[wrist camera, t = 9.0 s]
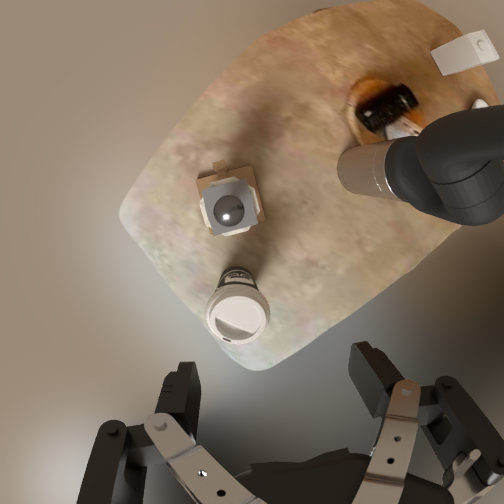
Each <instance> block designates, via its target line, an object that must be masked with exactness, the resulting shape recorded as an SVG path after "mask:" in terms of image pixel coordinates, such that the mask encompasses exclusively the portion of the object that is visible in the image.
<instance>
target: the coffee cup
mask: <svg viewBox="0 0 504 504" xmlns="http://www.w3.org/2000/svg"><path fill="white" fill-rule="evenodd" d="M205 315H206V320H207V323H208V325H209V327H210V329H211V330H212V331H213V333H214V334H215V335H217V336H218V337H219V338H220V339H222V340H223V341H226V342H228V343H232V344H244V343H248V342H250V341H252V340H254V339H256V338H257V337H258V336H259V335H260V334H261V333H262V332H263V331H264V330H265V328H266V327H267V325H268V322H269V318H270V307H269V304H268V301H267V300H266V298H265V297H264V295H263V294H262V293H261V292H259V290H258V288H257V285H256V283H255V281H254V279H253V277H252V275H251V273H250V272H249V271H248V270H246V269H245V268H242V267H231V268H229V269H227V270H226V271H224V272H223V274H222V275H221V278H220V280H219V283H218V285H217V288H216V291H215V293H214V294H213V295H212V296H211V298H210V299H209V301H208V303H207V306H206V311H205Z"/></svg>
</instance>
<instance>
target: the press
mask: <svg viewBox="0 0 504 504" xmlns="http://www.w3.org/2000/svg"><path fill="white" fill-rule="evenodd" d="M213 166H214V170H215V172H217V174H215V175H211V176H208V177H204V178H201V179H197V180H196V183H197V187H198V191H199V194H200V198H201V201H200V207H201V210H202V214H203V218H204V221H205V225H206V226H208V227H209V230H210V234H213V235H214V236H215V235H219V234H222V235H224V236H229V235H233V234H237V233H241V232H245V231H248V230H249V228H250V227H251V226H253V225H257V224H258V223H257V222H260V221H264V220H265V216H264V212H263V208H262V204H261V200H260V196H259V192H258V188H257V184H256V180H255V176H254V172H253V168H252V165H250V166H245V167H241V168H237V169H234V170H230V171H227V166H226V163H225V160H221V161H217V162H214V163H213ZM225 195H234V196H237V197H238V198H239V199H240V200H241V201H242V203H243V205H244V209H245V214H244V217H243V219H242V221H241V222H240V223H239V224H237V225H235V226H232V227H226V226H223V225H221V224H219V223H218V222H217V221H216V219H215V217H214V214H213V209H214V205H215V203H216V202H217V201H218V199H219V198H221V197H222V196H225Z"/></svg>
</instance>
